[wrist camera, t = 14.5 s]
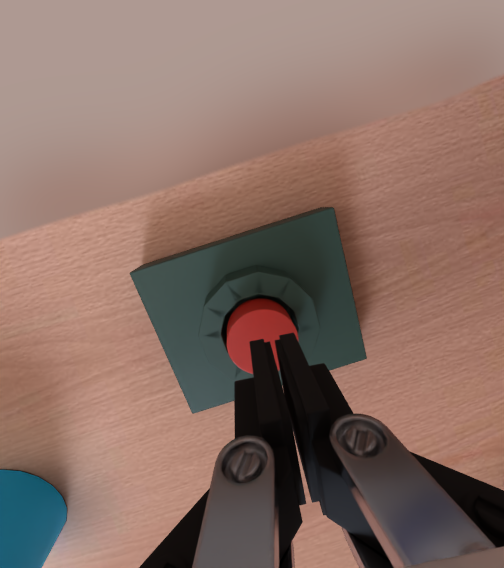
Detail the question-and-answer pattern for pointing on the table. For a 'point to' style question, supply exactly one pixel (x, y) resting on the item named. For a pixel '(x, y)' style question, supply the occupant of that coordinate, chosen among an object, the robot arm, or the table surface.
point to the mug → (28, 519)
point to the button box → (246, 286)
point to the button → (256, 329)
